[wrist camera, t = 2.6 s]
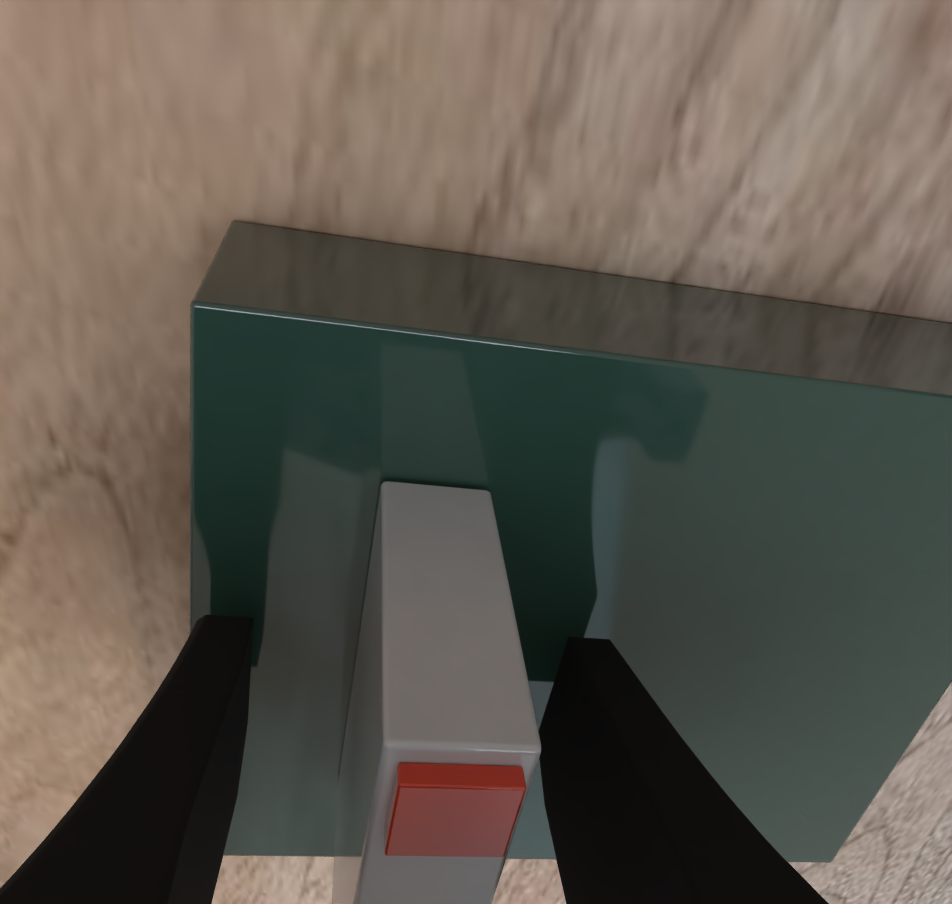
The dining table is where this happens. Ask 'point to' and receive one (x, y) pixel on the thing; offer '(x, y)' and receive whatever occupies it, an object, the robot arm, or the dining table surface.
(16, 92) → the dining table surface
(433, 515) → the grey block red tab
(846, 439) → the green rectangular block base
